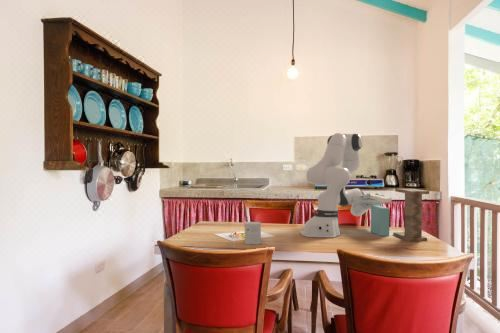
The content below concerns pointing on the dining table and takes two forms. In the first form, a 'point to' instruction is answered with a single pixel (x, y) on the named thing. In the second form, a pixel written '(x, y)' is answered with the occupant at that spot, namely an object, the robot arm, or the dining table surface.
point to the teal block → (380, 220)
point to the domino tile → (380, 198)
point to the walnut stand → (412, 215)
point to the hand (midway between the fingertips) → (373, 194)
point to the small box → (252, 232)
